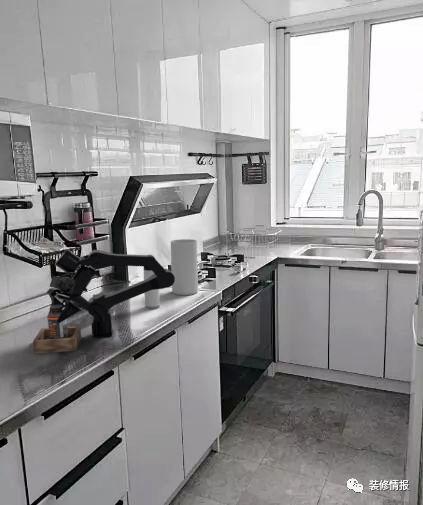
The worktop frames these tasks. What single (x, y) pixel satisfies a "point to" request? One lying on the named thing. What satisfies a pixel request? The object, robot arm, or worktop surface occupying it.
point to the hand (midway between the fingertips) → (53, 320)
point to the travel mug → (151, 292)
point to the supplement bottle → (56, 323)
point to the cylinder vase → (184, 266)
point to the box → (57, 341)
